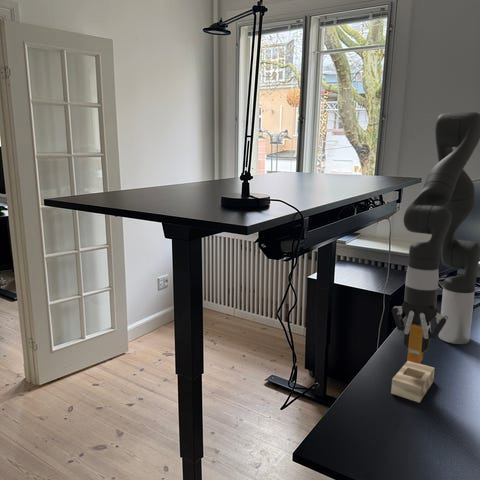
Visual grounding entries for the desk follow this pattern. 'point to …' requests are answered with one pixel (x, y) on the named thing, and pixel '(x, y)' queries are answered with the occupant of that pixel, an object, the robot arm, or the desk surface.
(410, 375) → the socket block
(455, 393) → the desk surface
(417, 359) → the supplement box
